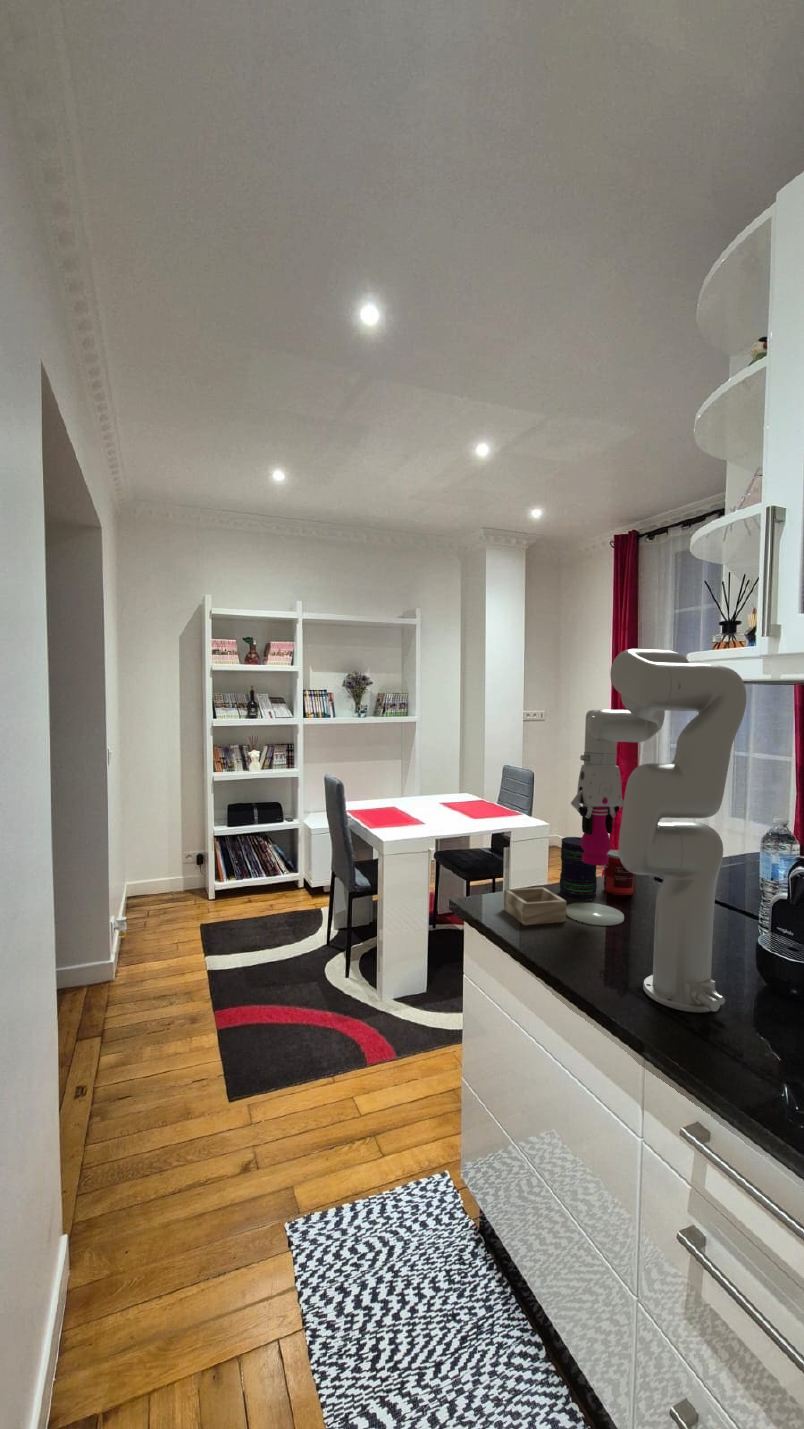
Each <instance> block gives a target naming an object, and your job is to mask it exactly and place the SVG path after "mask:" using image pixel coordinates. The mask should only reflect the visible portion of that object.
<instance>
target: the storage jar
mask: <svg viewBox="0 0 804 1429" xmlns="http://www.w3.org/2000/svg"><path fill="white" fill-rule="evenodd" d="M581 839H582V837H580V836H567V837H566V836H565V837H562V838H561V846H560V860H561V869H560V874H559V875H560V876H559V877H560V878H559V889H560V890H559V896H561V895H562V896H561V897H563V896H564V897H563V898H565V897H566V898H565V899H568V898H569V899H568V900H572V899H574V900H573V901H579V900H590V901H592V900H591V899H594V898H595V899H596V898H597V894H596V893H597V888H598V881H597V880H598V877H597V865H591V864H587V863H584V862H583V861H582V854H583V853H585V852H584V850H583V849H582V847H581ZM595 899H594V900H595Z"/></svg>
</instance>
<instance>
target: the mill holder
mask: <svg viewBox="0 0 804 1429" xmlns="http://www.w3.org/2000/svg"><path fill="white" fill-rule="evenodd" d="M503 893H504V895H503V910H504V911H505V912H507V913H508V914H509V915H510V916H512V917H513V918H515V919H516V920H517V921H518V922H519V923H521V924H522V925H523V926H529V925H542V924H543V925H544V924H554V923H555V922H556V923H565V922H564V921H566V922H567V915H566V906H567V900H565V899H564V898H562V896H560V895H558V894H556V893H554V892H553V891H550V890H549V889H548V888H545V887H544V886H540V887H539V886H538V887H526V888H524V887H522V888H510V889H509V888H508V889H504V892H503Z"/></svg>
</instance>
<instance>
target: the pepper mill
mask: <svg viewBox="0 0 804 1429" xmlns="http://www.w3.org/2000/svg"><path fill="white" fill-rule="evenodd" d="M607 802H608V800H607V797H606V798H605V797H604V799H603V800H602V803H603V804H607ZM607 812H608V809H607V807H593V810H592V813H591V817H590V818H592V820H593V821H592V834H586V833H584V832H583V834H582V839H581V847H582V849H583V850H584V852H585V853H583V854H582V861H583V862H584V863H587V864H591V865H596V866H605V865H607V864H608V860H609V857H608V856H607V855H606V854H607V853H608V852H609V851H610V850H612V842H611V838H610V835H609V833H607V830H606V826H605V819H606V815H607V814H608V813H607Z"/></svg>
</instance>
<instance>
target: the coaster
mask: <svg viewBox="0 0 804 1429" xmlns="http://www.w3.org/2000/svg"><path fill="white" fill-rule="evenodd" d="M566 917H568V918H569V919H572V920H574V921H576V920H577V921H576V922H579V923H582V922H583V924H587V925H591V926H603V927H604V926H605V927H606V926H607V927H608V926H616V925H617V926H618V925H620V924H622V923H623V922H624V921H625V915H624V913H623V912H621V910H619V909H617V908H614V907H613V906H609V905H605V904H600V903H595V902H574V903H573V902H572V903H570V904H566Z"/></svg>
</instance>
